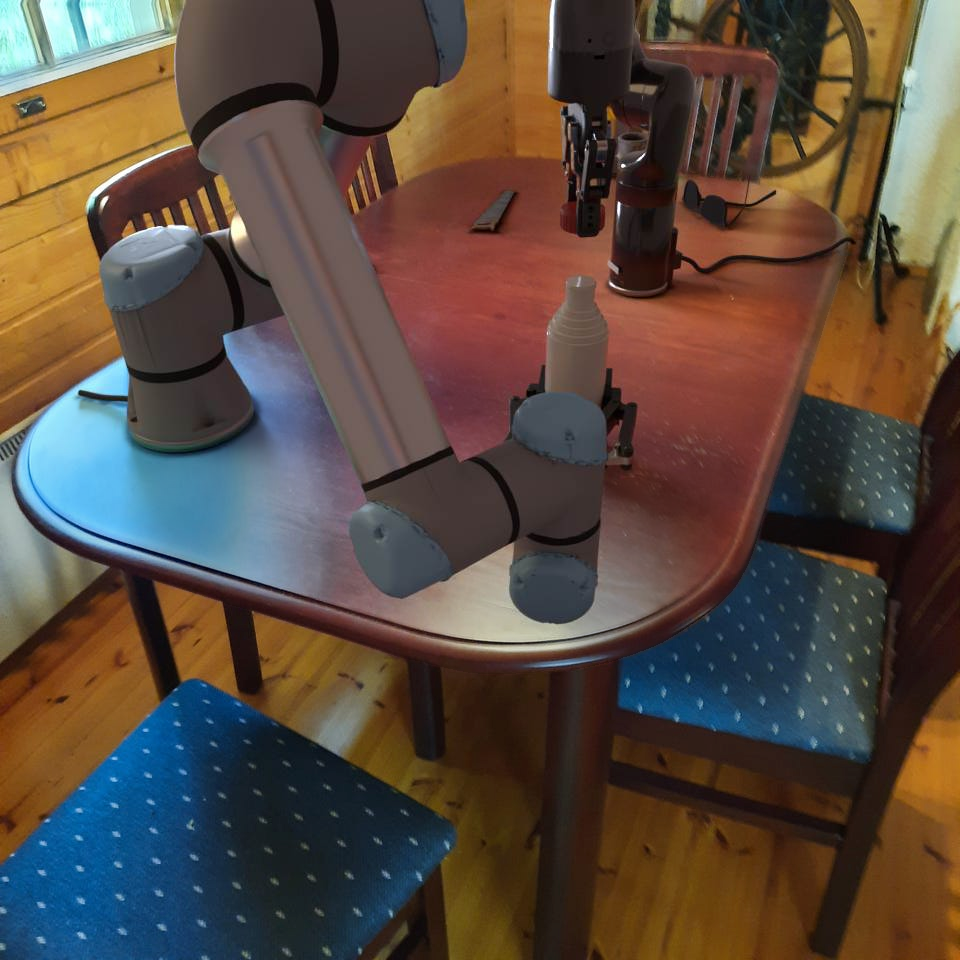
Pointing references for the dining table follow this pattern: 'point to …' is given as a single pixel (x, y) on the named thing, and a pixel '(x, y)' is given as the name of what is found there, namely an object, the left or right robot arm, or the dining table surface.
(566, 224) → the cap
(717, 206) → the sunglasses
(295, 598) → the dining table surface
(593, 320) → the bottle
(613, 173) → the pipe
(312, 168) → the left robot arm
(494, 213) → the grey flat bar
